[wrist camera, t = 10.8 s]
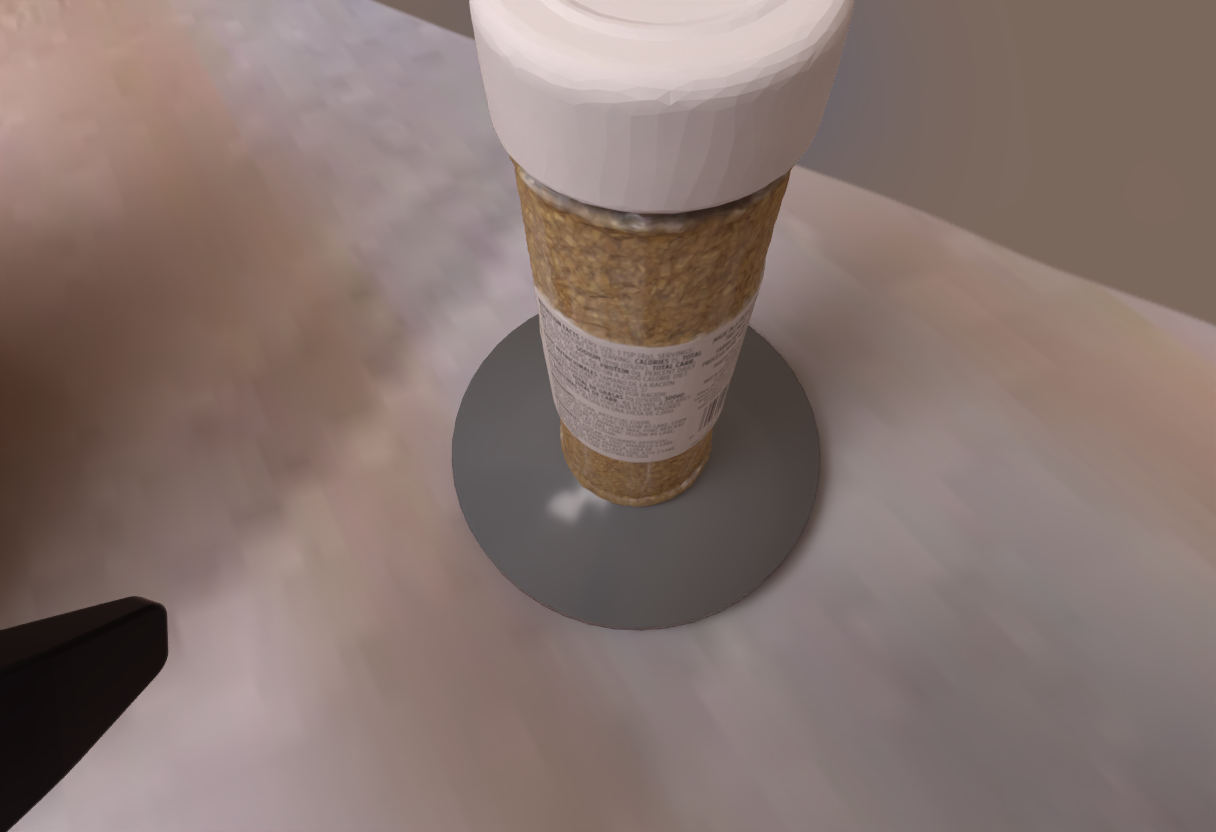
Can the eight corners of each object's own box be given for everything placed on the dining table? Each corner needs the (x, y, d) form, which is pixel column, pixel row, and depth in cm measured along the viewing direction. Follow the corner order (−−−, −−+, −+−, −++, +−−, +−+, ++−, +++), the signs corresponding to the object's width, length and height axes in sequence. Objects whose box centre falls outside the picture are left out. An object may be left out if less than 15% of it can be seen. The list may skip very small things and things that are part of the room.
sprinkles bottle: (620, 350, 21) (621, -188, 9) (740, 426, 19) (939, -83, 7) (527, 455, 19) (374, -28, 7) (653, 545, 18) (725, 143, 6)
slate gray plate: (466, 660, 17) (460, 656, 17) (451, 325, 22) (445, 312, 21) (861, 597, 18) (872, 591, 17) (761, 285, 23) (765, 270, 22)
